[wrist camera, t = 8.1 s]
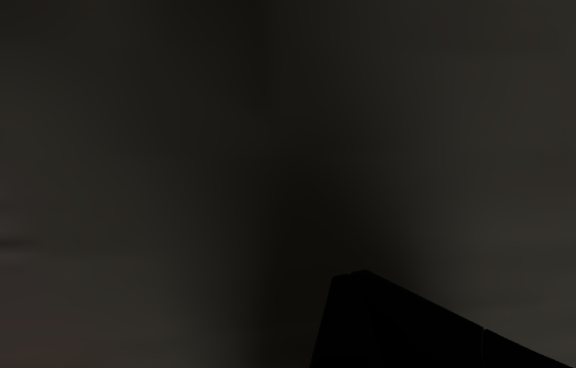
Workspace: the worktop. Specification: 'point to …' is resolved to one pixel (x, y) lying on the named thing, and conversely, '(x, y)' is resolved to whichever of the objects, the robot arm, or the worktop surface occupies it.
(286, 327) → the worktop surface
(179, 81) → the worktop surface
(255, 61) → the worktop surface
